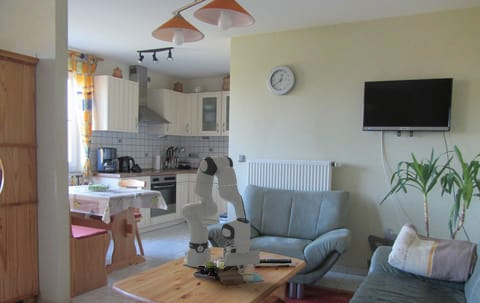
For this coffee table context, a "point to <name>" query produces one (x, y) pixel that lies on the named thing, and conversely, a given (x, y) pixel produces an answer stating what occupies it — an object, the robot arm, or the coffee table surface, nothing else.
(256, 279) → the teal mat
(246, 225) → the robot arm
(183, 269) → the coffee table surface
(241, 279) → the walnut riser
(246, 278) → the birch tile
